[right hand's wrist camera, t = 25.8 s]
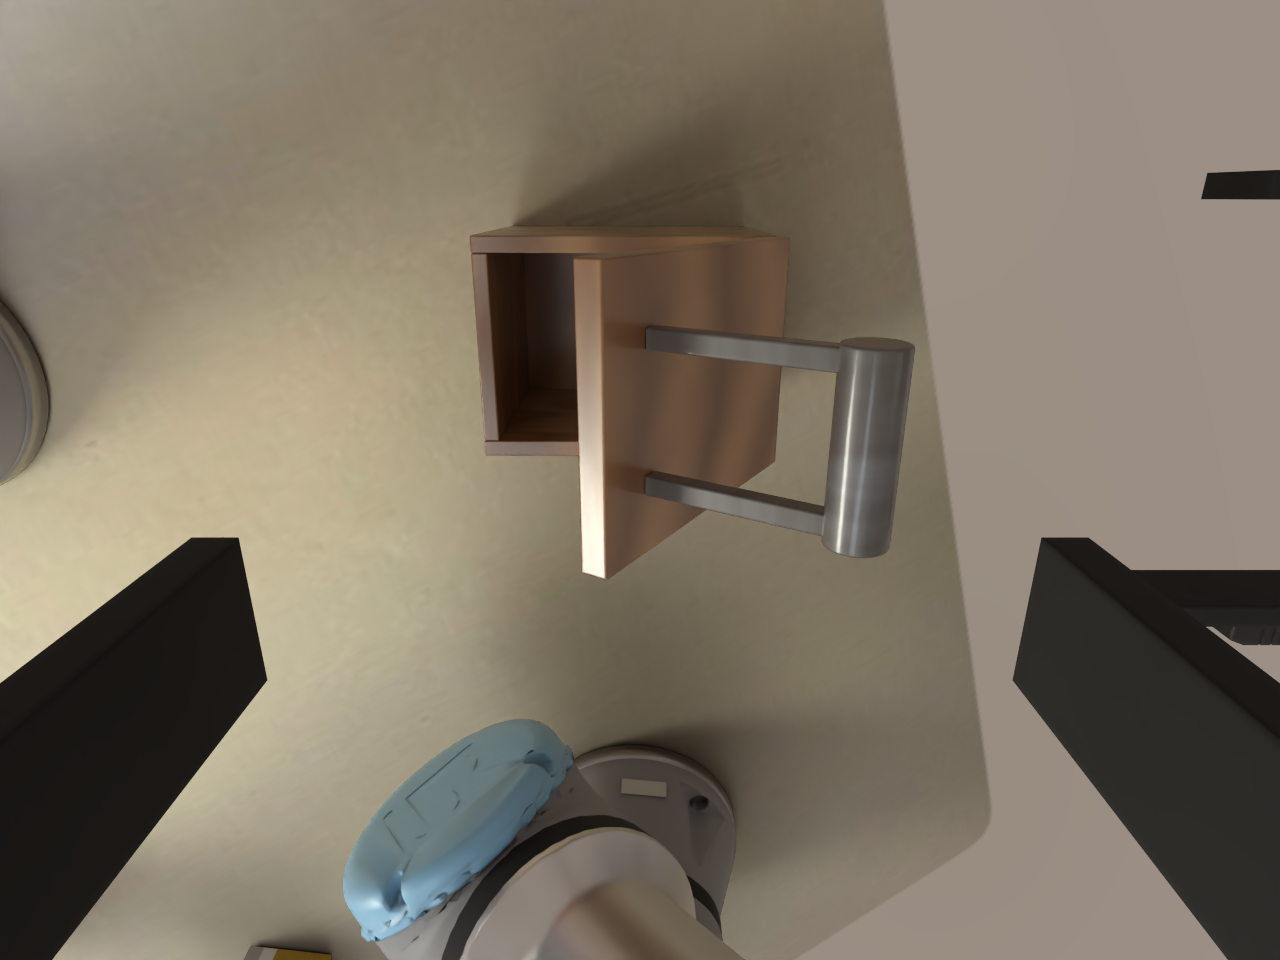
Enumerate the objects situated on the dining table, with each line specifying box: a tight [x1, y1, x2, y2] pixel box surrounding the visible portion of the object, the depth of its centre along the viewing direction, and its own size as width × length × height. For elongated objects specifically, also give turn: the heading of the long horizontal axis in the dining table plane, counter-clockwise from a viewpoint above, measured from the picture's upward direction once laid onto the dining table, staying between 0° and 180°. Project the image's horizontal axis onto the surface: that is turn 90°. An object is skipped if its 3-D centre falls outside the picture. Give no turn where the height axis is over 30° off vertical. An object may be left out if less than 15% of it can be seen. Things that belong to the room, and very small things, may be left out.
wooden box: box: [470, 226, 776, 456], centre depth 39 cm, size 13×10×11 cm
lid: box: [573, 237, 915, 580], centre depth 26 cm, size 14×10×9 cm
